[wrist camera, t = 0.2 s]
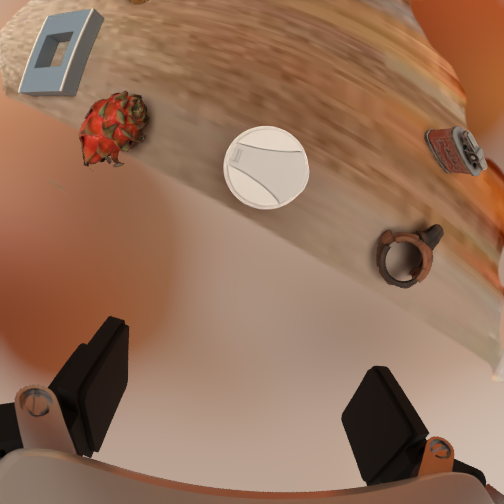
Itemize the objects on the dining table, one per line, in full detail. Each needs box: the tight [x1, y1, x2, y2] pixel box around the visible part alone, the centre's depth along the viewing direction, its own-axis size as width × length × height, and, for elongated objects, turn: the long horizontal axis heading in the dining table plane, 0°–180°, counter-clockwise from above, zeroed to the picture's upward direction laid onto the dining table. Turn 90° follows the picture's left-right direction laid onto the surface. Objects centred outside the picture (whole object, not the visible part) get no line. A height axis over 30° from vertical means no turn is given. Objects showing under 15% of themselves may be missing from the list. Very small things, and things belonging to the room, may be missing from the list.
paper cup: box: [224, 126, 310, 209], centre depth 31 cm, size 8×8×14 cm
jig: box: [18, 8, 104, 96], centre depth 28 cm, size 14×10×4 cm
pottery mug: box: [376, 224, 444, 289], centre depth 39 cm, size 12×10×8 cm
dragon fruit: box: [79, 91, 149, 167], centre depth 32 cm, size 8×8×12 cm
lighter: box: [424, 126, 487, 176], centre depth 32 cm, size 8×3×10 cm, turn 44°
